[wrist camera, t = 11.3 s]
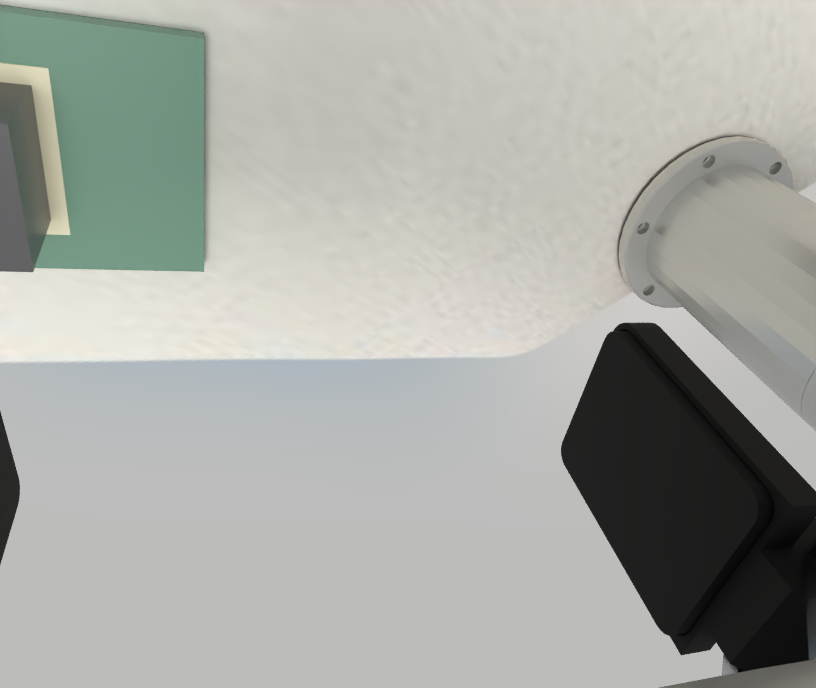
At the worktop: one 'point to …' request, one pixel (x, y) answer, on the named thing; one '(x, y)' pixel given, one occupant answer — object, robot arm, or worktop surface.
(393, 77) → the worktop surface
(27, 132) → the block
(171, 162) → the header board
